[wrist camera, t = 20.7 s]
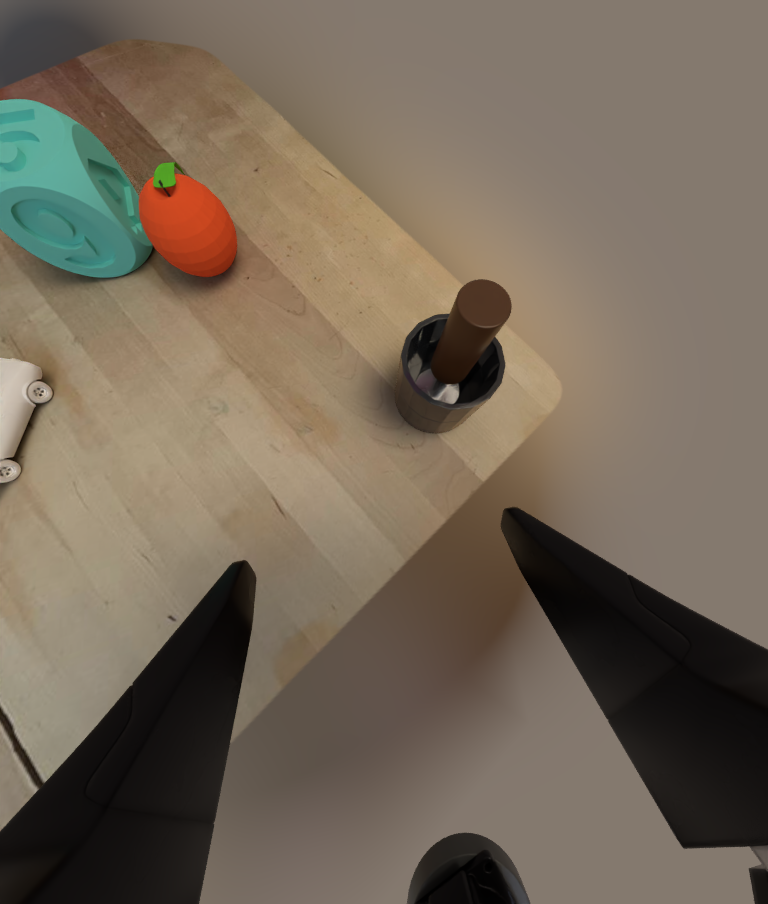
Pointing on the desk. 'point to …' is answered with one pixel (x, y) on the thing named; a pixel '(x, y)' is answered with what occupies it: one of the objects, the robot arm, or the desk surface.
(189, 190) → the clementine
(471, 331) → the masher
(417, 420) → the pot
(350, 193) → the desk surface
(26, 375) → the toy car
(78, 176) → the decorative dice
